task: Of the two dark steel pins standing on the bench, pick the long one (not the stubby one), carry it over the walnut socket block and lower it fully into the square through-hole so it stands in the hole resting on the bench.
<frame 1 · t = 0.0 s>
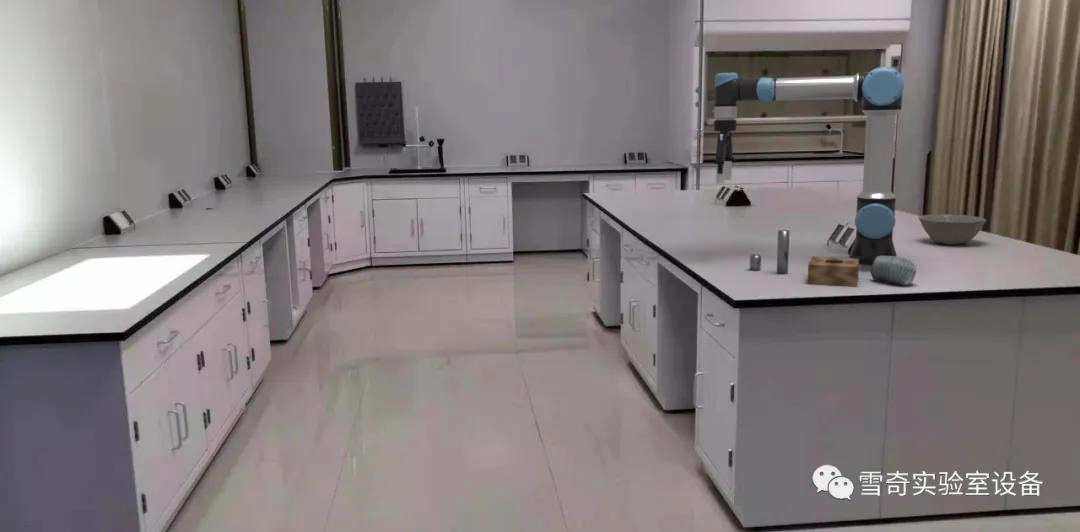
hand: (723, 181, 282), 28 cm above the table, fingers open, 13 cm apart
spool: (892, 283, 248), on the table
socket block: (833, 280, 253), on the table
long pin: (782, 273, 265), on the table
short pin: (755, 270, 271), on the table
ceramic bowl: (949, 244, 312), on the table
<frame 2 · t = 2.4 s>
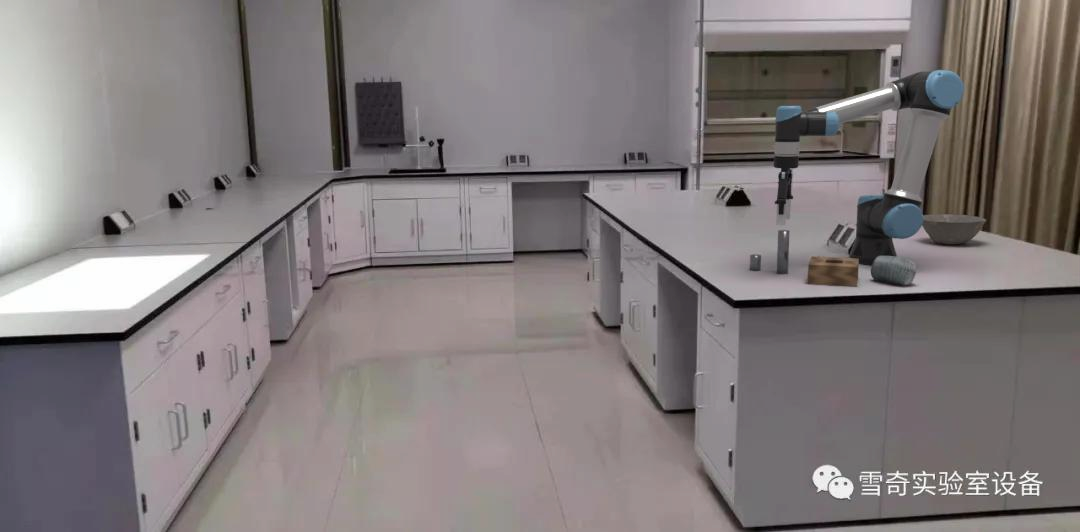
hand: (783, 222, 262), 17 cm above the table, fingers open, 13 cm apart
nothing on the table moved.
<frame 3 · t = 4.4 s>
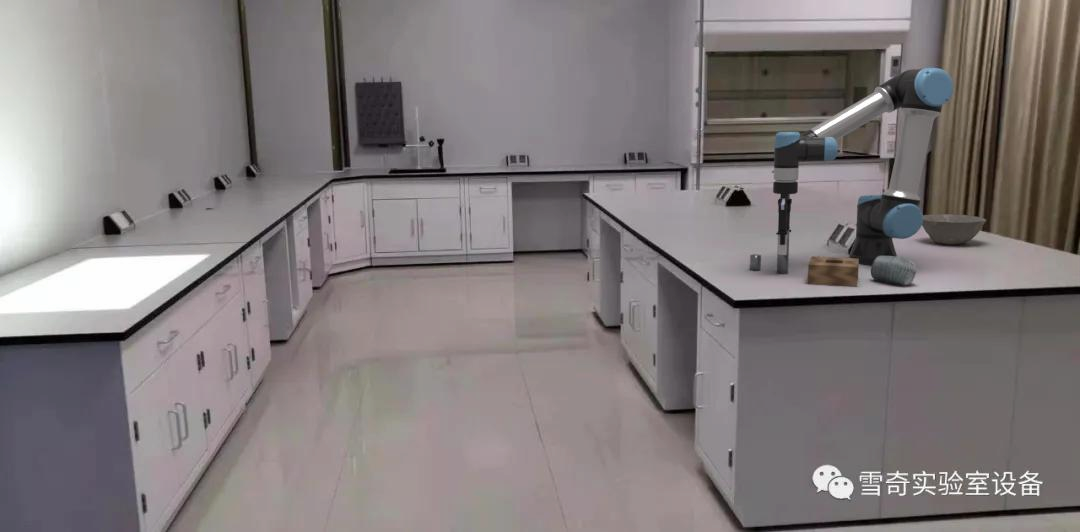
hand: (783, 253, 264), 7 cm above the table, fingers closed on long pin, 3 cm apart
long pin: (782, 273, 265), on the table, touching gripper
everything else where it was.
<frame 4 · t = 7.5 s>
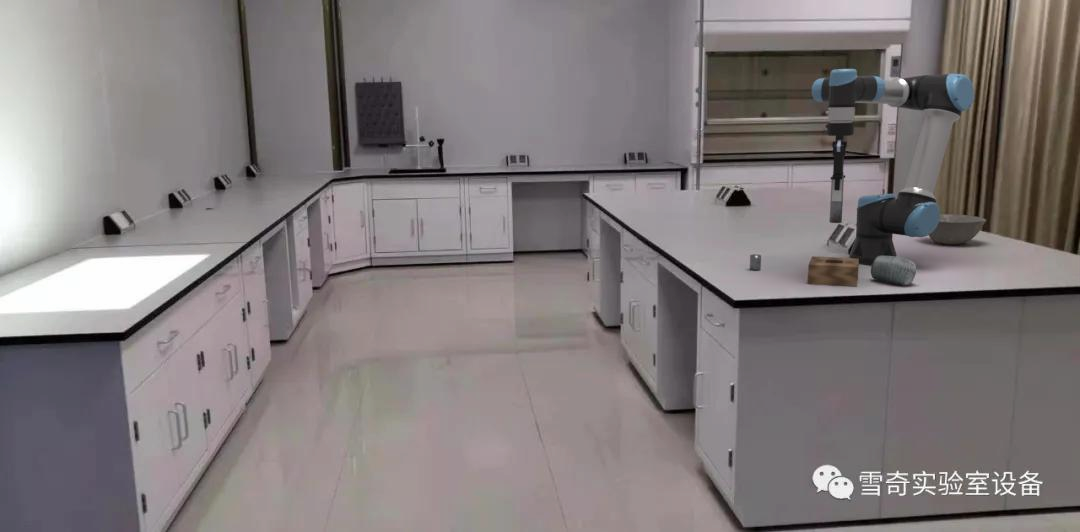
hand: (836, 200, 248), 25 cm above the table, fingers closed on long pin, 3 cm apart
long pin: (835, 222, 249), point 18 cm above the table, touching gripper
everything else where it was.
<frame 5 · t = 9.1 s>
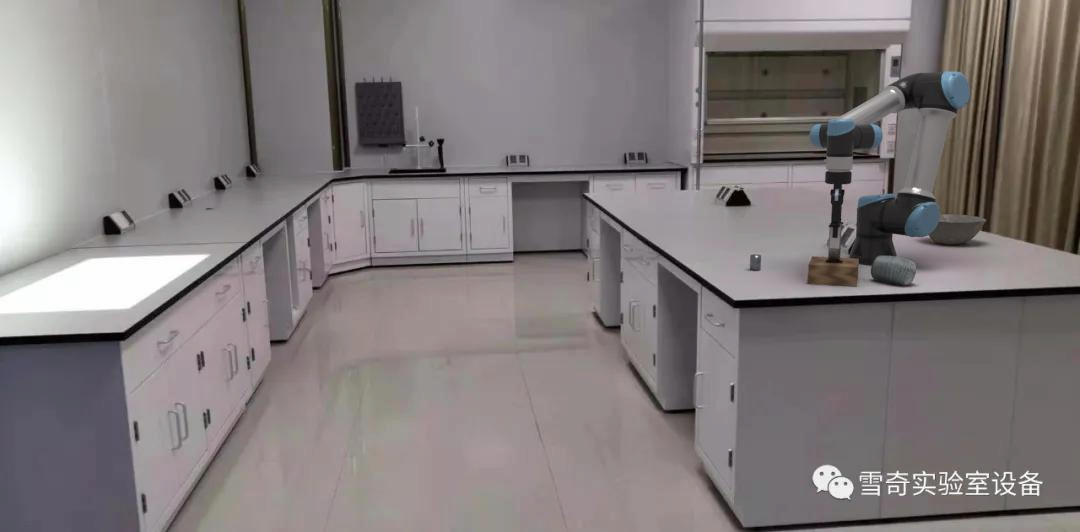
hand: (834, 246, 251), 11 cm above the table, fingers closed on long pin, 3 cm apart
long pin: (833, 268, 252), point 4 cm above the table, touching gripper
everything else where it was.
when the fingers open (8 cm above the table, at t = 10.4 s): long pin stays where it is, resting in socket block.
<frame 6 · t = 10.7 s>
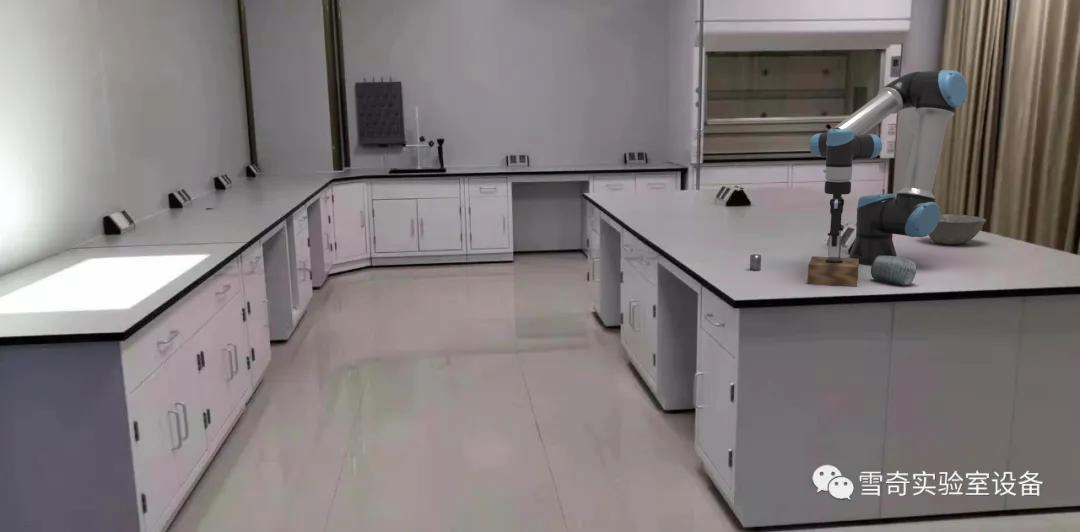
hand: (834, 254, 251), 8 cm above the table, fingers open, 8 cm apart
long pin: (833, 280, 253), resting in socket block
everything else where it was.
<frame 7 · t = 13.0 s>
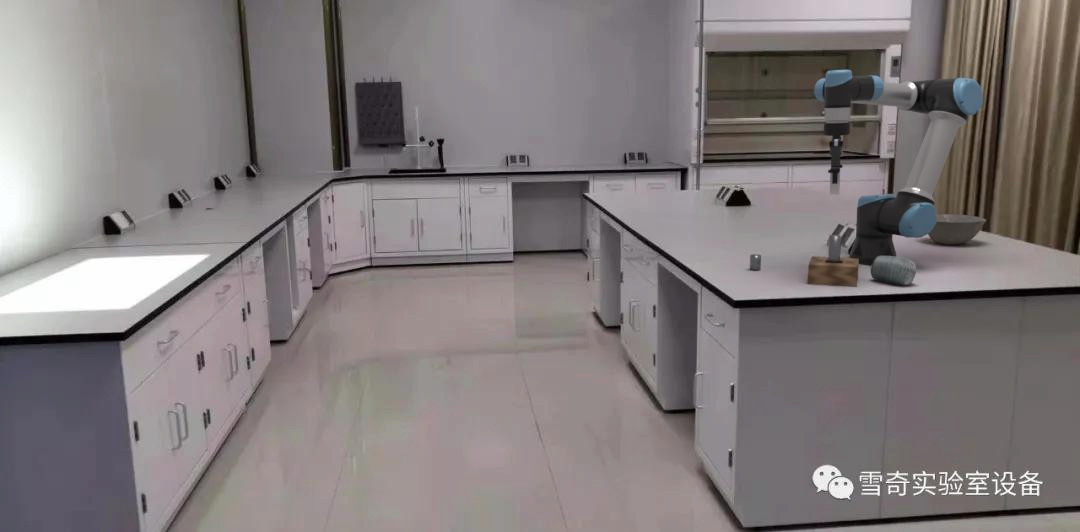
hand: (834, 191, 252), 27 cm above the table, fingers open, 13 cm apart
nothing on the table moved.
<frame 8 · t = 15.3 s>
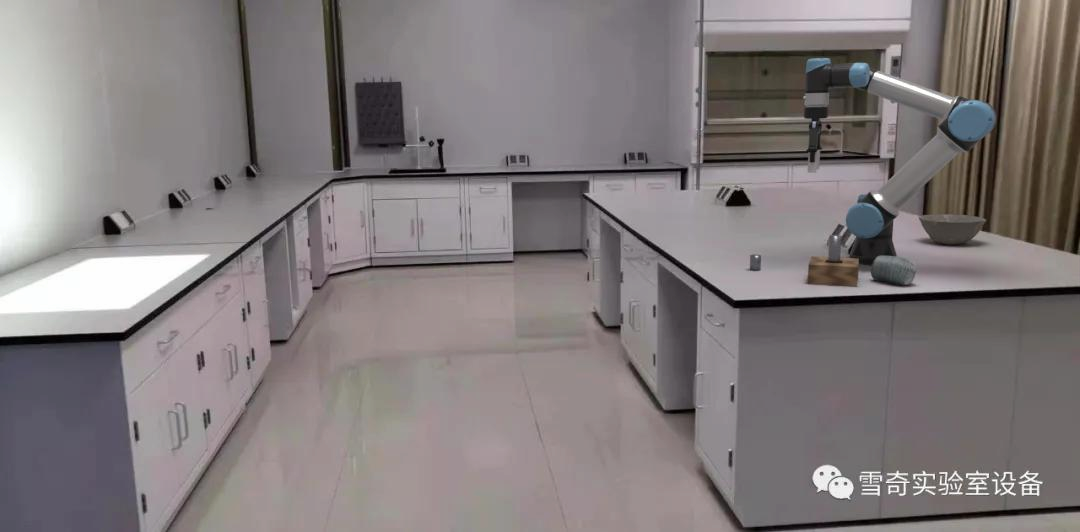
hand: (813, 170, 274), 32 cm above the table, fingers open, 13 cm apart
nothing on the table moved.
at the end: long pin 0.1 cm off-centre on the socket block, point 0.0 cm above the socket block's base; long pin tilted 0°; the gripper is holding nothing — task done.
